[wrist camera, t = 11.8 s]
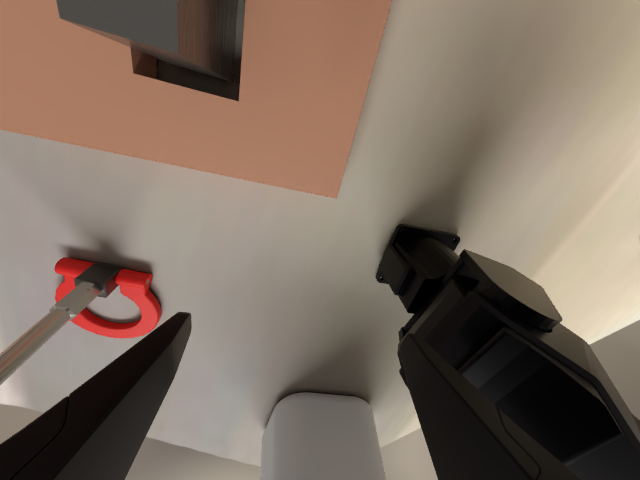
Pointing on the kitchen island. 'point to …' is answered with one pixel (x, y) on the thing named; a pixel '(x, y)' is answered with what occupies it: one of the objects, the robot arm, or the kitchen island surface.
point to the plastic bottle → (321, 440)
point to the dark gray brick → (165, 29)
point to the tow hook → (71, 306)
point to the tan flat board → (196, 106)
